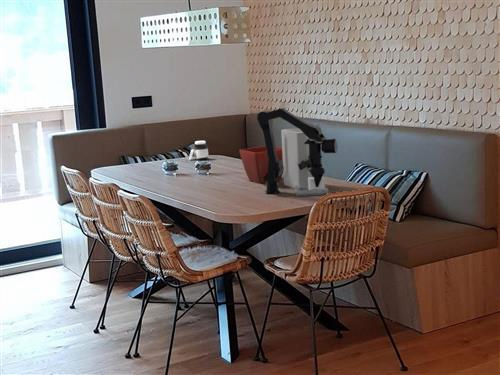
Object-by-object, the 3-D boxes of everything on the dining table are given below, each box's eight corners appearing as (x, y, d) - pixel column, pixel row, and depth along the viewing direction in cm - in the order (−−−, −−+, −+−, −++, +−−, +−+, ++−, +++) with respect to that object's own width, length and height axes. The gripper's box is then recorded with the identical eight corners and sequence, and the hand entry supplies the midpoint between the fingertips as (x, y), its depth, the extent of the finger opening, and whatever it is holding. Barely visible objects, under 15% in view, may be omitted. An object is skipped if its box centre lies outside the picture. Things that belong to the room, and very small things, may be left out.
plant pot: (240, 180, 411) (238, 149, 408) (271, 176, 419) (270, 145, 416) (257, 185, 394) (255, 152, 391) (289, 180, 403) (288, 148, 400)
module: (308, 189, 368) (308, 176, 367) (323, 188, 368) (322, 175, 367) (309, 191, 363) (309, 178, 362) (324, 191, 364) (324, 177, 362)
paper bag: (326, 186, 381) (324, 130, 375) (299, 190, 375) (297, 133, 370) (309, 181, 398) (307, 127, 393) (283, 184, 393) (280, 129, 387)
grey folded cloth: (294, 192, 371) (294, 184, 370) (325, 190, 371) (325, 182, 370) (296, 196, 361) (296, 188, 360) (328, 194, 361) (328, 186, 361)
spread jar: (210, 159, 492) (209, 141, 490) (194, 161, 487) (193, 143, 484) (201, 157, 502) (200, 140, 500) (186, 159, 497) (184, 141, 495)
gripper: (296, 151, 372) (297, 183, 374) (299, 157, 353) (301, 190, 356) (319, 150, 372) (320, 182, 375) (324, 155, 353) (325, 189, 356)
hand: (316, 185), depth 365 cm, fingers open, 5 cm apart
